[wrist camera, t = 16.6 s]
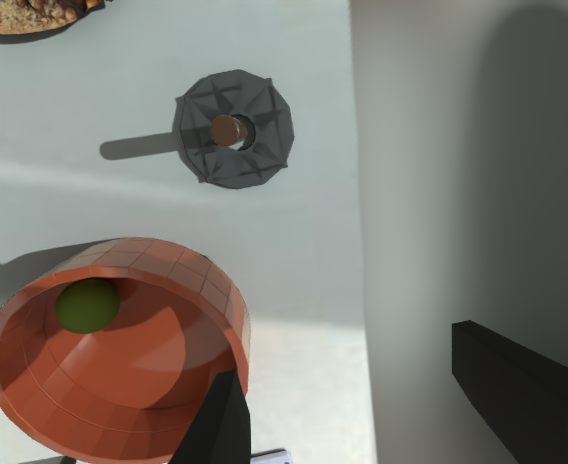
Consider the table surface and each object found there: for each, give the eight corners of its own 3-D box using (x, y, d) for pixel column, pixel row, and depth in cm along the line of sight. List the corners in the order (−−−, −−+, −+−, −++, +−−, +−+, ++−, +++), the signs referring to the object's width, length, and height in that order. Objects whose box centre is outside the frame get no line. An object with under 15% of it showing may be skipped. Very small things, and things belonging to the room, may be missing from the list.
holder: (300, 175, 17) (301, 176, 17) (200, 195, 17) (198, 197, 16) (281, 62, 15) (281, 60, 15) (169, 84, 15) (166, 83, 15)
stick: (249, 139, 16) (242, 143, 10) (231, 143, 16) (214, 149, 10) (245, 120, 16) (235, 112, 10) (226, 124, 16) (205, 118, 10)
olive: (93, 262, 18) (134, 293, 19) (52, 300, 17) (96, 331, 18) (80, 274, 15) (129, 310, 16) (29, 320, 14) (83, 355, 15)
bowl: (268, 387, 22) (269, 441, 18) (89, 425, 22) (53, 487, 18) (222, 217, 17) (212, 240, 14) (-1, 262, 17) (-74, 298, 13)
